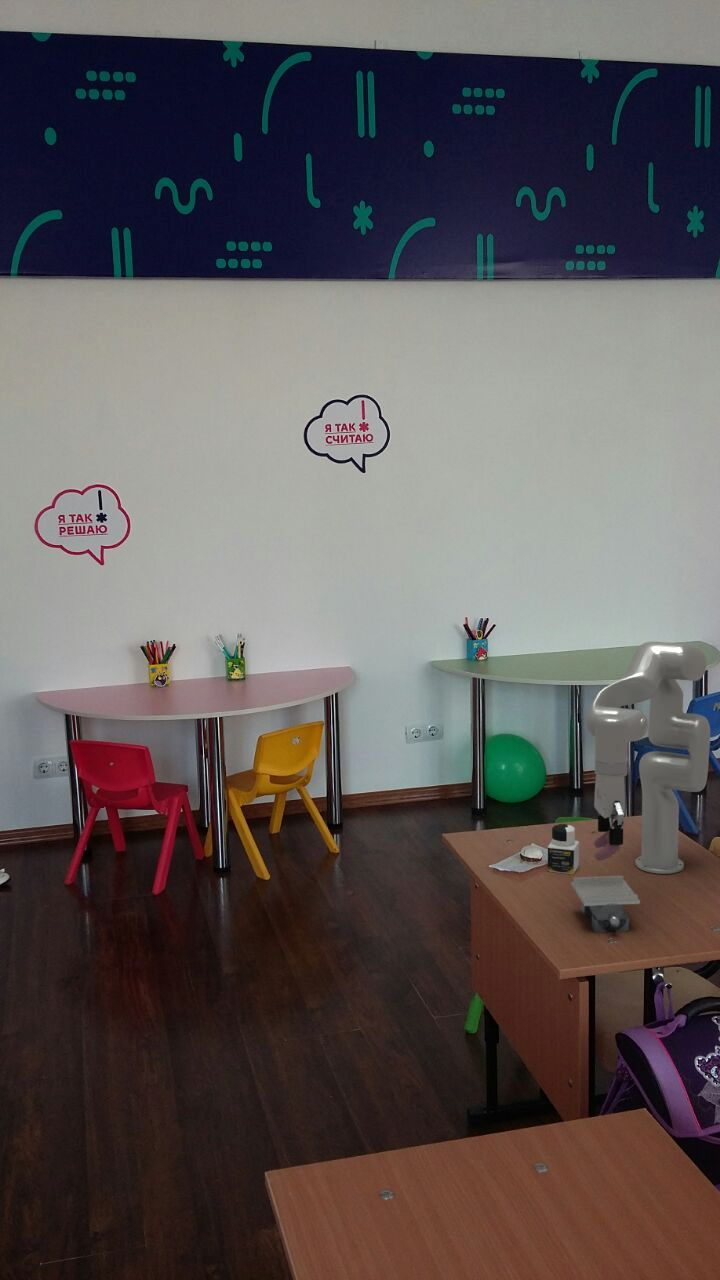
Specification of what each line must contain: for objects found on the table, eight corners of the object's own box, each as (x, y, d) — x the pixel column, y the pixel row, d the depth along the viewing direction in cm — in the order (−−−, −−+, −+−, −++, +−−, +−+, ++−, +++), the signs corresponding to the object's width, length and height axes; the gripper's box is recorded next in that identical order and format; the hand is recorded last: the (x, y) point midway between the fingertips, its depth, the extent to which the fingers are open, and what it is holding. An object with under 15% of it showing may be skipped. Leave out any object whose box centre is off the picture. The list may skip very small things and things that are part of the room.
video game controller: (610, 868, 259) (625, 843, 257) (593, 859, 259) (608, 834, 257) (609, 853, 268) (623, 829, 267) (592, 843, 269) (606, 820, 267)
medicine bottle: (547, 871, 298) (547, 828, 296) (553, 862, 304) (553, 820, 303) (573, 874, 295) (574, 831, 293) (579, 865, 302) (579, 823, 300)
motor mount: (571, 910, 271) (571, 877, 270) (623, 908, 272) (624, 875, 271) (587, 938, 256) (587, 902, 254) (643, 935, 256) (643, 900, 255)
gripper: (585, 758, 268) (585, 827, 271) (605, 777, 251) (604, 850, 254) (616, 757, 269) (615, 825, 271) (638, 776, 252) (636, 849, 254)
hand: (610, 837), depth 262 cm, fingers closed on video game controller, 9 cm apart
